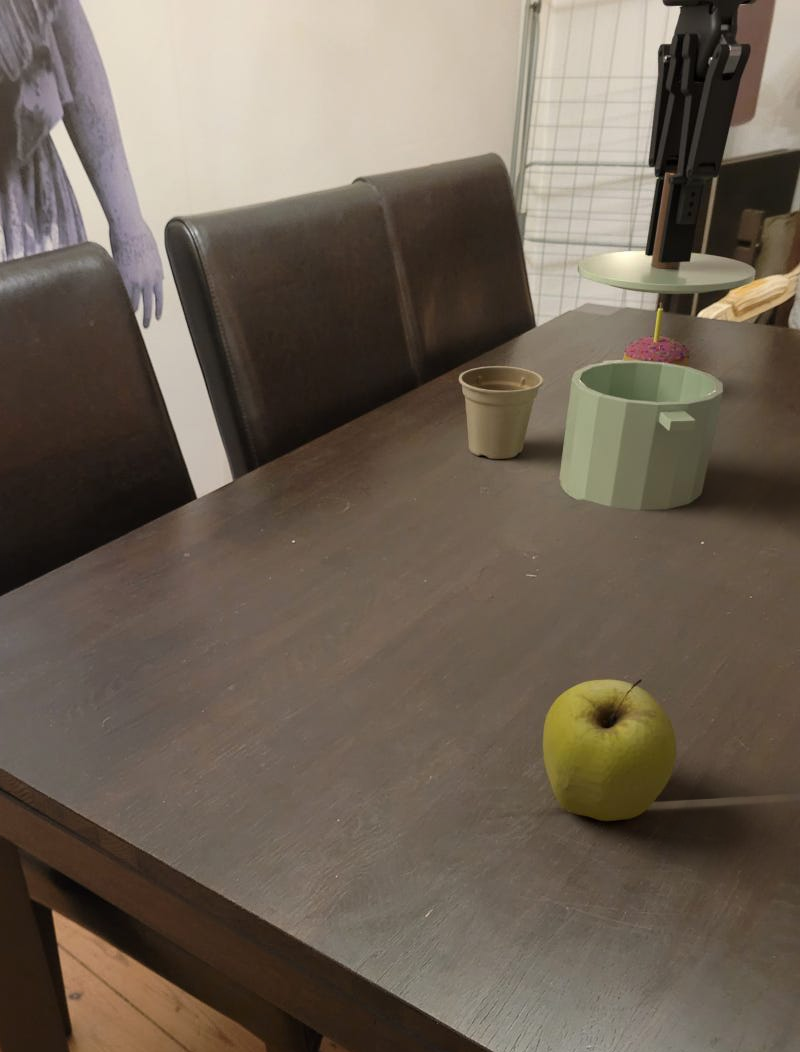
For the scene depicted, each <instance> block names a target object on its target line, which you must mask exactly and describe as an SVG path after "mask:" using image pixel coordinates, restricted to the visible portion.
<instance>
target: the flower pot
mask: <svg viewBox="0 0 800 1052" xmlns="http://www.w3.org/2000/svg"><path fill="white" fill-rule="evenodd" d="M458 382H459V384H460V385H461V387H462V394H463V396H464V401H465V402H464V403H465V413H466V425H467V438H468V450H469V451H470V452H471V453H472V454H474V455H476V456H478V457H480V456H485V457H487V458H488V459H491V460H503V459H512V458H515V457H516V456H517V455H518V454H520V453H522V451H523V449H524V443H525V439H526V435H527V432H528V431H527V430H528V427H529V422H530V419H531V413H532V409H533V405H534V401H535V399H536V398H537V396H538V394H539V389H540V388H541V387H542V386H543V385H544V378H543V377H542V375H540V373H537V372H535V371H533V370H530V369H526V368H522V367H517V366H506V365H505V366H504V365H503V366H502V365H494V366H493V365H492V366H491V365H489V366H481V367H476V368H471V369H469V370H466V371H463V372H461V373H460V374H459V376H458Z"/></svg>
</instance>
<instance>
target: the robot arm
mask: <svg viewBox="0 0 800 1052" xmlns="http://www.w3.org/2000/svg"><path fill="white" fill-rule="evenodd" d="M756 2H758V0H662V4H663V5H664V6H665V7H666V8H679V9H680V10H679V15H678V18H677V22H676V25H675V28H674V32H673V36H672V38H671V43H661V44H660V45H659V48H658V50H657V81H656V91H655V99H654V109H653V117H652V126H651V135H650V143H649V145H650V146H649V153H648V161H647V162H648V163H647V165H648V167H649V168H654V169H653V170H654V177H655V178H656V180H655V187H654V192H653V193H654V194H653V199H652V206H651V211H650V212H651V213H650V219H649V225H648V233H647V239H646V244H645V250H644V251H645V255H647V256H652V254H653V248H654V242H655V235H656V229H657V223H658V216H659V210H660V204H661V197H662V191H663V185H664V178H665V173H666V172H667V171H673V170H677V177H668V183H669V184H670V190H669V196H668V202H667V208H666V215H665V221H664V227H663V233H662V239H661V246H660V252H659V258H658V261H659V262H661V263H667V262H690V259H691V253H693V247H694V242H695V237H696V236H695V235H696V230H697V224H698V218H699V214H700V208H701V202H702V197H703V196H702V195H703V189H704V186H705V184H707V183H708V182H709V179H715V178H718V177H719V174H720V171H721V167H722V164H723V158H724V154H725V150H726V145H727V141H728V136H729V132H730V129H731V124H732V120H733V115H734V110H735V106H736V102H737V97H738V93H739V89H740V83H741V80H742V77H743V74H744V71H745V69H746V66H747V64H748V61H749V59H750V55H751V50H752V49H751V48H752V47H751V44H750V43H739V42H738V41H737V34H738V30H739V29H738V27H739V26H738V15H739V7H740V6H750V5H753V4H756Z"/></svg>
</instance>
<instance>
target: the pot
mask: <svg viewBox="0 0 800 1052" xmlns="http://www.w3.org/2000/svg"><path fill="white" fill-rule="evenodd" d="M570 383H571V384H570V391H569V399H568V406H567V415H566V423H565V430H564V440H563V447H562V455H561V462H560V463H561V464H560V470H559V484H560V487H561V489H562V491H564V492H565V493H566V494H567V495H568V496H569V497H571V498H572V499H574V500H576V501H580V500H581V501H582V500H583V501H588V502H591V503H595V504H599V505H601V506H606V507H610V508H616V509H624V510H634V511H656V510H670V509H674V508H677V507H683V506H685V505H689V504H691V503H693V502H694V501H695V500H696V499H698V498H699V497H701V496H702V494H703V488H704V485H705V480H706V476H707V475H706V474H707V469H708V465H709V461H710V456H711V451H712V447H713V442H714V438H715V434H716V433H715V432H716V429H717V423H718V418H719V413H720V410H721V409H720V408H721V405H722V399H723V394H724V383H723V382H722V381H721V380H720V379H718V378H717V377H715V376H714V375H713V374H711V373H708V372H705V371H702V370H700V369H696V368H693V367H691V366H690V367H689V366H687V367H686V366H680V365H675V364H669V363H663V362H650V361H637V360H636V361H625V360H624V359H616V360H615V359H614V360H613V359H612V360H602V362H599V363H598V362H597V363H593V364H588V365H586V366H583V367H582V368H580V369H577V370H576V371H574V373H573V376H572V378H571V382H570Z"/></svg>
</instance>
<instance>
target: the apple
mask: <svg viewBox="0 0 800 1052" xmlns="http://www.w3.org/2000/svg"><path fill="white" fill-rule="evenodd" d="M642 681H643V678H642V679H638V680H637V681H636V682H634V683H630V682H628V681H623V680H617V679H607V678H606V679H594V680H588V681H583V682H581V683H578V684H575V685H574V686H572V687H570V688H568V689H567V690H565V691H564V692H563V693H561V695H559V696H558V697H557V698H556V699H555V700H554V702H553V703H552V705H550V708H549V709H548V712H547V715H546V718H545V721H544V725H543V732H542V733H543V736H542V752H543V762H544V766H545V771H546V774H547V776H548V779H549V783H550V786H551V789H552V792H553V794H554V797H555V798H556V801H557V802H558V804H559V805H560V806H561V807H562V808H563V809H565V810H566V811H567V812H570V813H572V814H574V815H578V816H584V817H589V818H592V819H595V820H597V821H604V822H612V821H622V820H631V819H633V818H637V817H638V816H640V815H641V814H642V813H644V812H645V811H647V810H648V809H649V808H650V806H652V804H653V803H654V802H655V801H656V800H657V798H658V796H660V794H661V793H662V792H663V791H664V789H665V788H666V786H667V784H668V782H669V780H670V779H671V777H672V774H673V771H674V767H675V762H676V759H677V742H676V741H677V740H676V735H675V729H674V727H673V724H672V722H671V720H670V717H669V716H668V714H667V713H666V711H665V709H664V708H663V707H662V705H661V704H660V703H659V702H658V700H656V699H655V697H654V696H653V695H651V693H649V692H648V691H646V690H645V689H643V688H641V687H639V686H637V685H639V684H640V683H642Z"/></svg>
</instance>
